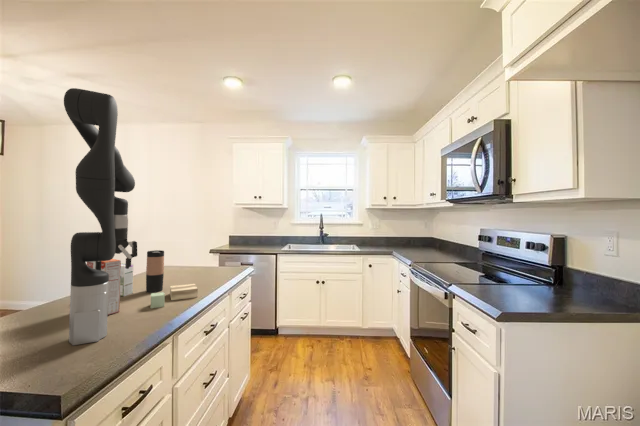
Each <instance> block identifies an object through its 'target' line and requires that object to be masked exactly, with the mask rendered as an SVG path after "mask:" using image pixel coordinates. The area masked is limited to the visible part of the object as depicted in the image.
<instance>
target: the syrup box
mask: <svg viewBox="0 0 640 426" xmlns="http://www.w3.org/2000/svg"><path fill="white" fill-rule="evenodd" d="M125 265H126V263H121V271H120V297H127V296H129V295H131V294H133V291H134V290H133V289H134V263H131V267H129V269H126V268H125Z"/></svg>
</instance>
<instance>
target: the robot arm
mask: <svg viewBox="0 0 640 426" xmlns="http://www.w3.org/2000/svg"><path fill="white" fill-rule="evenodd" d="M63 106H64V111H65V112H66V115H67V116H68V118H69V119H70V121H71V123H72V124H73V126H74V127H75V129H76V130H77V132H78V133H79V135H80V136H81V138H82V139H83V141H84V142H85V143H86V144H87V146H88V147H89V149H90V150H89V151H88V152H87V153H86V154H85V155H84V156H83V158H82V159H81V160H80V162H79V163H77V166H76V168H75V191H76V194H77V196H78V197H79V199H80V200H81V201H82V202H83V203H84V204H85V206H86V207H87V208H88V209H89V211H90V212H92V213H93V215H94V217H95V218H96V219H97V221H98V224H99V226H100V229H101V232H99V231H96V232H95V231H94V232H93V231H92V232H91V231H90V232H89V231H87V232H86V231H85V232H83V231H82V232H76V233H74V234H73V235H72V237H71V240H70V268H71V269H70V293H69V295H70V296H69V297H70V299H69V320H68V321H69V324H68V330H69V331H68V344H71V346H77V345H83V344H90V343H96V342H99V341H100V340H102V339H103V338H105V337H107V335H108V317H109V315H108V286H109V274H108V273H107V272H105V271H101V261H108V260H111V259H114V257H115V254H121V253H122V254H123V255H124V256H125V257H126V258H125V264H126V265H125V268H126V269H129V267H131V264H132V259H133V258H135V257H138V242H137V241H136V240H133V241H128V230H129V217H128V212H129V201H128V200H127V199H124V198H122V197H121V198H120V197H117V196H115V193H116V192H117V193H129V192H132V191H133V190H134V189H135V185H136V180H135V178H134V176H133V174H132V172H130V171H129V169H128V168H127V167H126V166H125V164H124V161H123V158H122V156H121V153H120V150H119V149H118V148H117V147H116V146H115V145H116V137H117V128H118V127H117V126H118V113H119V112H118V105H117V101H116V99H115V97H114V96H112V95H111V94H108V93H103V92H99V91H92V90H87V89H83V88H76V87H75V88H73V87H72V88H69V89H67V90H66V92H65V93H64V96H63ZM97 127H98V128H97ZM128 246H129V247H131V253H129V252H128V251H127V247H128ZM93 261H96V262H95V269H93V268H91V267H89V266H88V265H87V262H93Z"/></svg>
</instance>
